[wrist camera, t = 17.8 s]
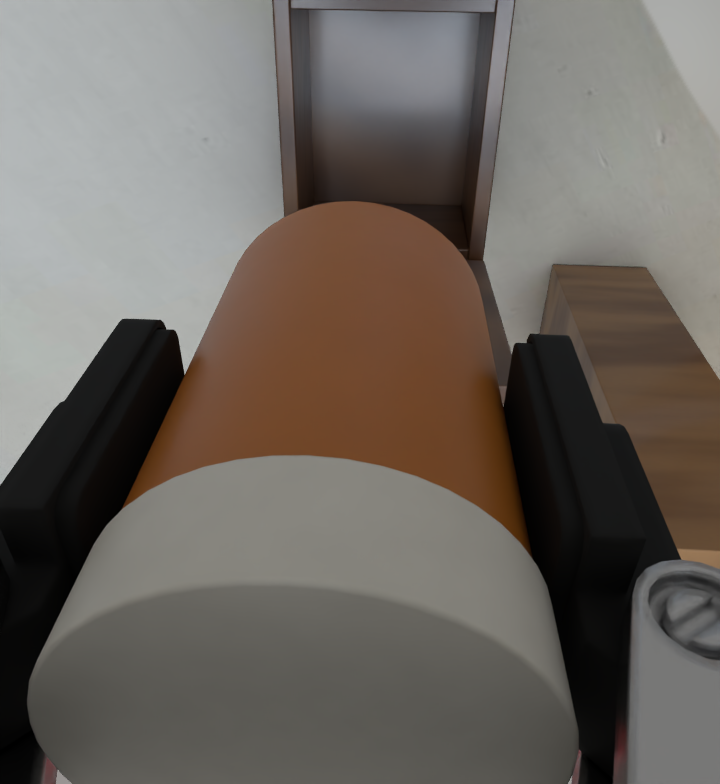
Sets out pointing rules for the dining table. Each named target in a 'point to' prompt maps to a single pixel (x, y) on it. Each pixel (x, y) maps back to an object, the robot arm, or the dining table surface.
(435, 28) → the chest
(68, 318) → the dining table surface
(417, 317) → the pill bottle
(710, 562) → the stand
